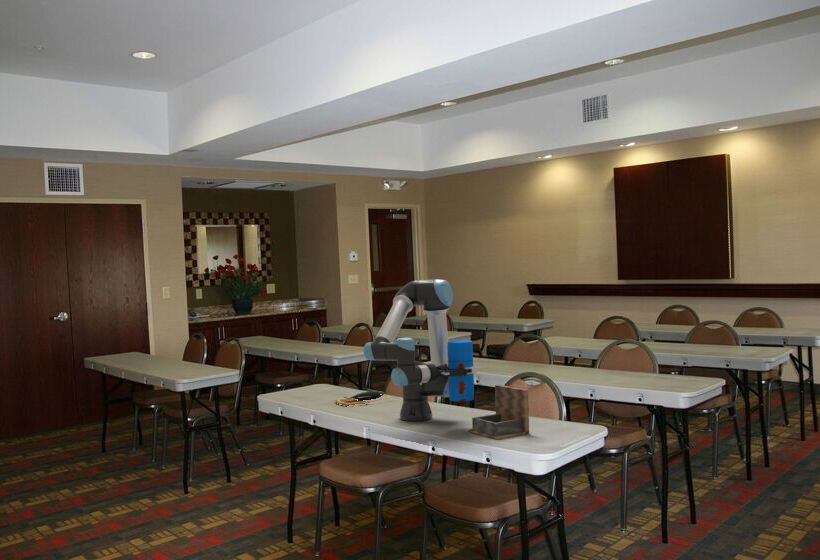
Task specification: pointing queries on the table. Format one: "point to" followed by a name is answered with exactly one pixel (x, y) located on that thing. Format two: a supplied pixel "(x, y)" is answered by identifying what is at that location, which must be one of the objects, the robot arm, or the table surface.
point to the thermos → (459, 359)
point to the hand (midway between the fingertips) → (468, 368)
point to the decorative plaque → (361, 397)
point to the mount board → (505, 415)
